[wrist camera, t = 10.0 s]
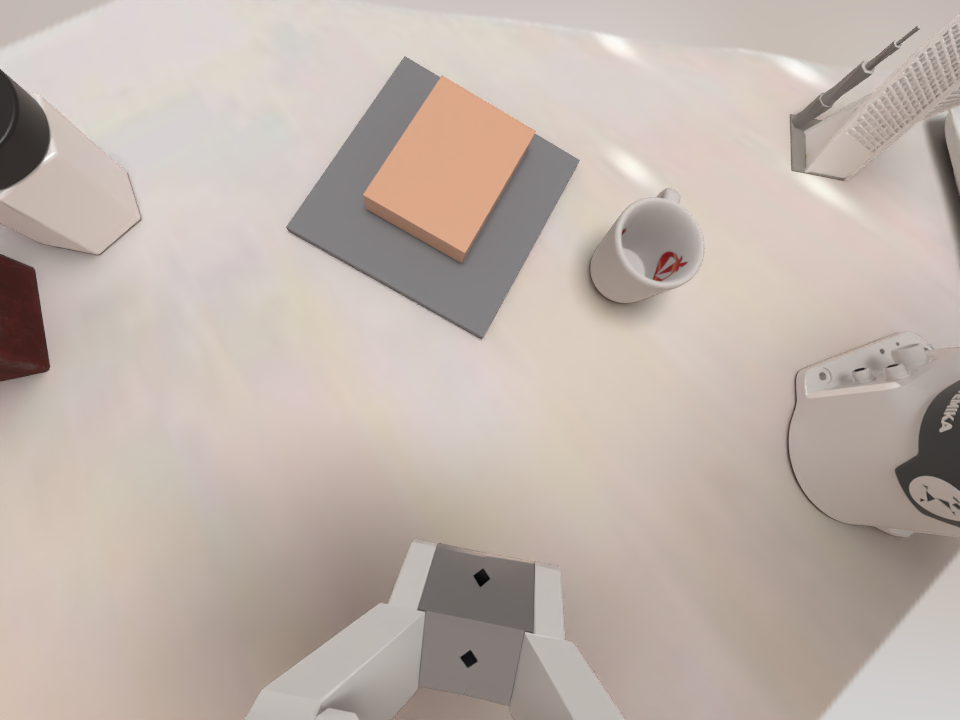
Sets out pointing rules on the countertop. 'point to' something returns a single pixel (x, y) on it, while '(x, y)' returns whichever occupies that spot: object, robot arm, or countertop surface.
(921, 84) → the skyscraper
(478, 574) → the robot arm
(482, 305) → the mat
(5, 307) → the dark red grey-topped box
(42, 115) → the jar
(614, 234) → the cup
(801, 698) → the countertop surface
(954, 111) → the square plate
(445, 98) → the peach rectangular block
